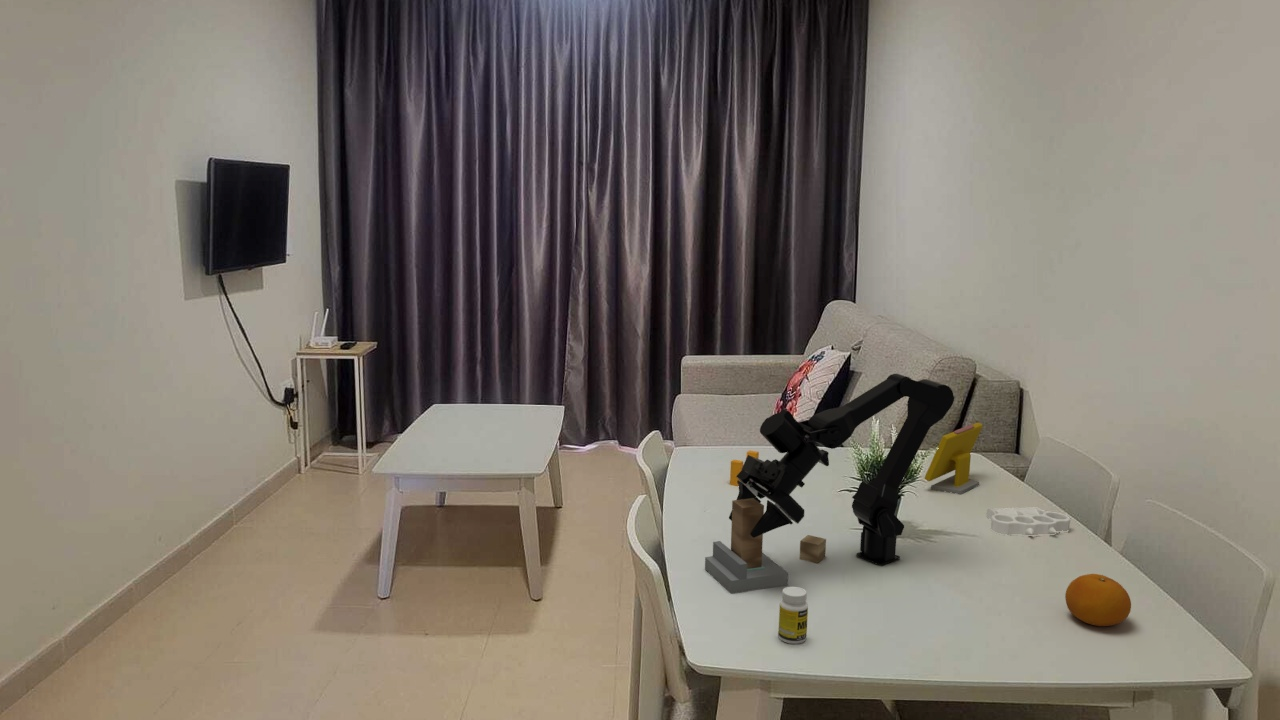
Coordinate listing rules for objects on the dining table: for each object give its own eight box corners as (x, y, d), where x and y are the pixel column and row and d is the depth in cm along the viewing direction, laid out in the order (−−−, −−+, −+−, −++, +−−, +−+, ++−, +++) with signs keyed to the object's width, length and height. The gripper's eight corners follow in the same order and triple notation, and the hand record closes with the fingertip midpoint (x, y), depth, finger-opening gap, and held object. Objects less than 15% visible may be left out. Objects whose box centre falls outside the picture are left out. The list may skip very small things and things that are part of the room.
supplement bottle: (799, 647, 153) (802, 599, 152) (773, 639, 156) (775, 593, 154) (810, 635, 157) (813, 589, 156) (785, 628, 160) (787, 583, 158)
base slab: (758, 561, 189) (759, 535, 188) (787, 584, 178) (788, 557, 177) (704, 569, 185) (705, 542, 184) (731, 593, 174) (732, 565, 173)
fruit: (1143, 631, 161) (1148, 587, 159) (1089, 636, 159) (1094, 592, 157) (1101, 605, 171) (1106, 564, 169) (1051, 609, 169) (1055, 568, 167)
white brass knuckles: (1044, 516, 219) (1081, 539, 205) (972, 519, 216) (1005, 542, 202) (1045, 502, 218) (1083, 524, 204) (973, 505, 216) (1007, 528, 201)
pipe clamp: (745, 488, 236) (746, 464, 235) (730, 485, 238) (730, 461, 237) (764, 476, 246) (764, 452, 245) (749, 473, 248) (749, 450, 247)
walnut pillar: (750, 558, 184) (753, 498, 181) (761, 567, 179) (763, 505, 177) (730, 561, 182) (732, 500, 180) (740, 570, 178) (742, 507, 176)
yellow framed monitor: (958, 475, 249) (963, 418, 246) (987, 481, 243) (992, 423, 241) (923, 491, 235) (927, 431, 232) (952, 498, 229) (957, 437, 226)
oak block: (825, 557, 192) (826, 539, 191) (817, 563, 188) (818, 545, 188) (807, 553, 194) (808, 534, 193) (799, 559, 191) (800, 540, 190)
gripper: (746, 429, 186) (695, 487, 184) (792, 454, 169) (736, 518, 167) (779, 464, 190) (729, 521, 189) (828, 491, 173) (773, 554, 171)
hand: (740, 527), depth 179 cm, fingers open, 9 cm apart
